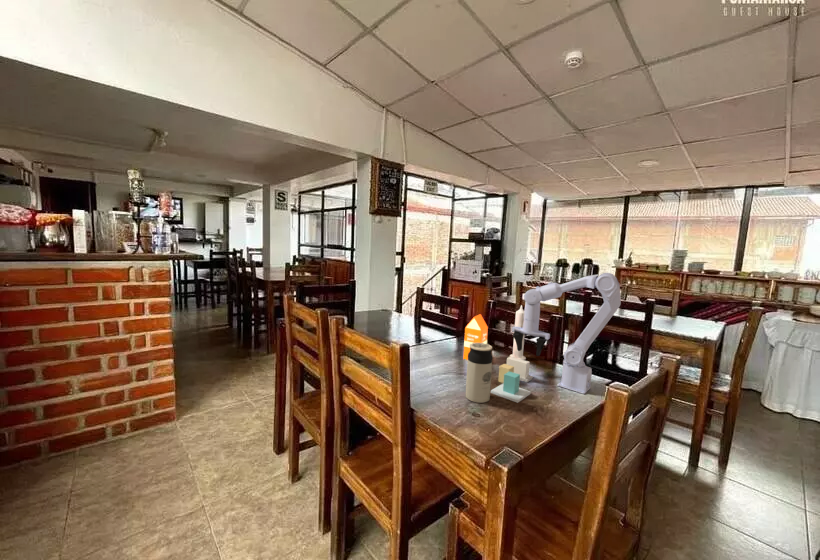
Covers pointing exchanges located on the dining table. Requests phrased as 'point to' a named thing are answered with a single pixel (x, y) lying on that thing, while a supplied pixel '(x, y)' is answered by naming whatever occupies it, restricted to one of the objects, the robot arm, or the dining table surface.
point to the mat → (516, 397)
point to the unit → (520, 368)
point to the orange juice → (475, 333)
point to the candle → (519, 323)
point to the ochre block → (504, 371)
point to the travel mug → (479, 372)
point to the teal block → (511, 382)
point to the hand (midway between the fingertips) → (528, 352)
